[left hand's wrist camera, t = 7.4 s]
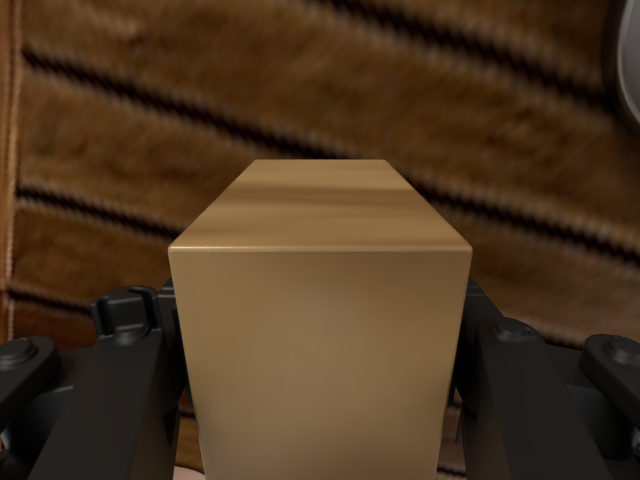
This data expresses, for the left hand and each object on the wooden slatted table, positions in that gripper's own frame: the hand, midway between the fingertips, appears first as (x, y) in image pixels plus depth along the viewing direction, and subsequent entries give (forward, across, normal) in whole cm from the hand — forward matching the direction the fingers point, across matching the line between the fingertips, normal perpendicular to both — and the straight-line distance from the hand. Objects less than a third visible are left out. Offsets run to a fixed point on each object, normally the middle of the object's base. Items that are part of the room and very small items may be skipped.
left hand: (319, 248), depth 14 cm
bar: (+1, 0, -7) cm, 7 cm away
